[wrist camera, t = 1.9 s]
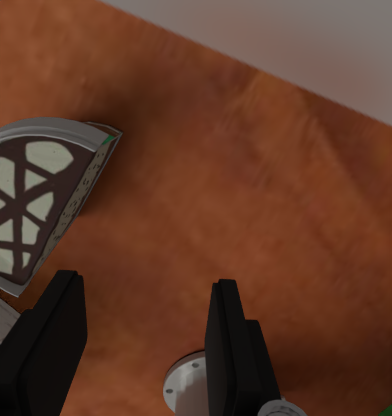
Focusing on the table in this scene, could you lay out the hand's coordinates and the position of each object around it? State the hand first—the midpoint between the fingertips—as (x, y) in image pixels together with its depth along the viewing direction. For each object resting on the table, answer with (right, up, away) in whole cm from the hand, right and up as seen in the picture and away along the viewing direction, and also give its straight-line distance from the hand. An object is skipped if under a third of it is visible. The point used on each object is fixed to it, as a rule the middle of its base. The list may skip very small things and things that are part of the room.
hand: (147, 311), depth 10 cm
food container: (-10, +8, +15) cm, 20 cm away
